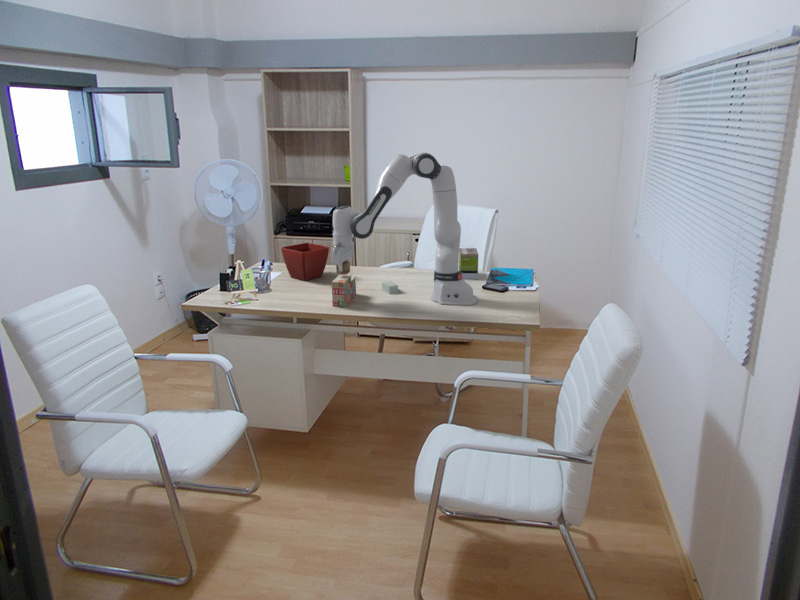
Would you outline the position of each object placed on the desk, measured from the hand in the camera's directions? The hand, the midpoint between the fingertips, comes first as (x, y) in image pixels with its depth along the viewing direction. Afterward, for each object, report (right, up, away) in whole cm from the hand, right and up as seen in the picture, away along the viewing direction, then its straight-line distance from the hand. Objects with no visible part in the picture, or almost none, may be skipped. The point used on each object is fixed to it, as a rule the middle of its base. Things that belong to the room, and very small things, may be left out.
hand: (343, 269), depth 280 cm
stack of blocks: (0, -15, +6) cm, 16 cm away
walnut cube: (0, -2, 0) cm, 2 cm away
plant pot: (-25, -2, +46) cm, 53 cm away
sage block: (+22, -10, +21) cm, 32 cm away
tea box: (+65, -1, +50) cm, 82 cm away
